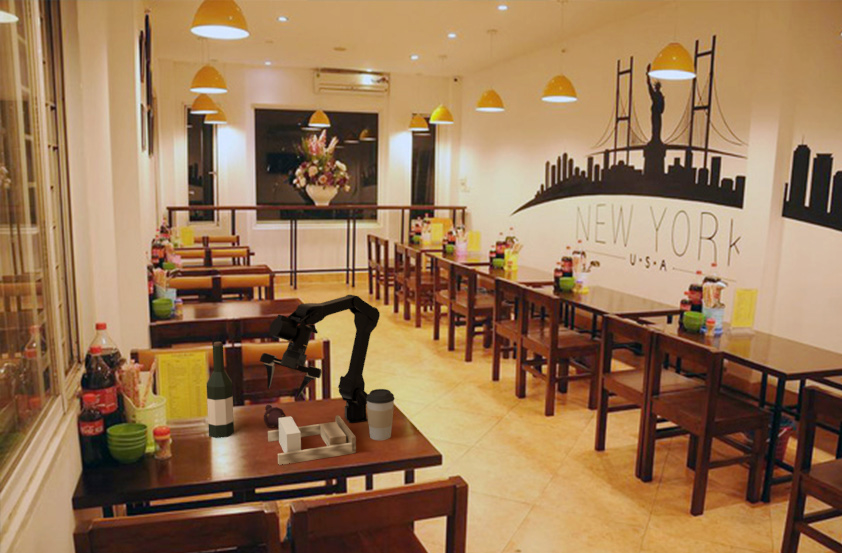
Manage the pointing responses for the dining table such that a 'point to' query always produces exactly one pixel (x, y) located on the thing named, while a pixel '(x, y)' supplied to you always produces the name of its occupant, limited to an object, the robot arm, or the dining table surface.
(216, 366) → the wine bottle
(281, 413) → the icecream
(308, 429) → the frame
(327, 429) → the offcut upper
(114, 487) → the dining table surface
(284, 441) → the white rectangular block
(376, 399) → the coffee cup
